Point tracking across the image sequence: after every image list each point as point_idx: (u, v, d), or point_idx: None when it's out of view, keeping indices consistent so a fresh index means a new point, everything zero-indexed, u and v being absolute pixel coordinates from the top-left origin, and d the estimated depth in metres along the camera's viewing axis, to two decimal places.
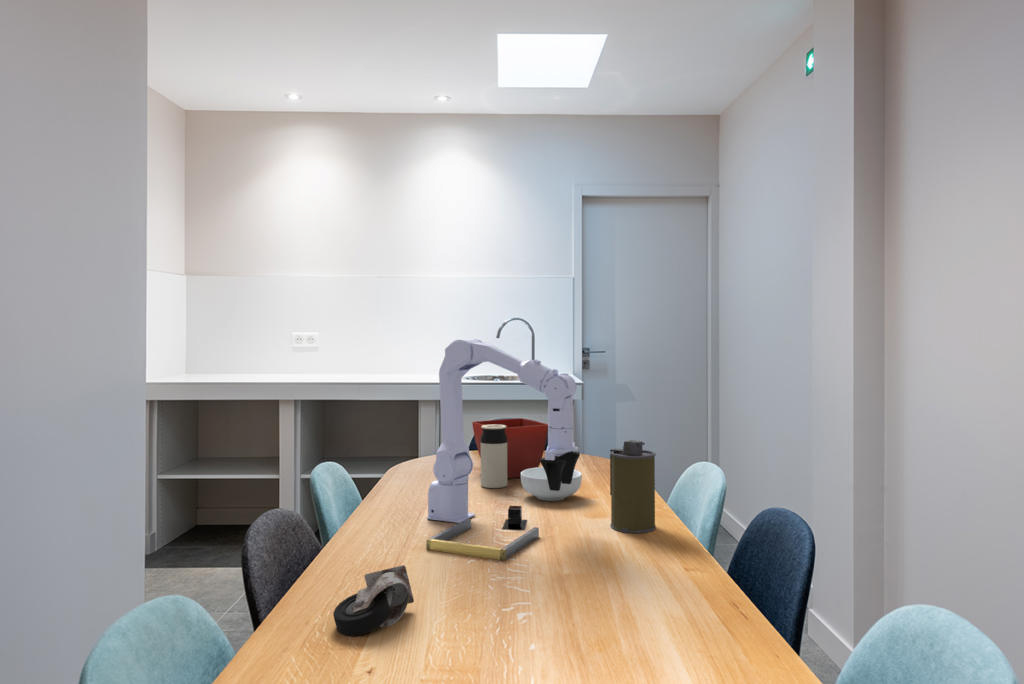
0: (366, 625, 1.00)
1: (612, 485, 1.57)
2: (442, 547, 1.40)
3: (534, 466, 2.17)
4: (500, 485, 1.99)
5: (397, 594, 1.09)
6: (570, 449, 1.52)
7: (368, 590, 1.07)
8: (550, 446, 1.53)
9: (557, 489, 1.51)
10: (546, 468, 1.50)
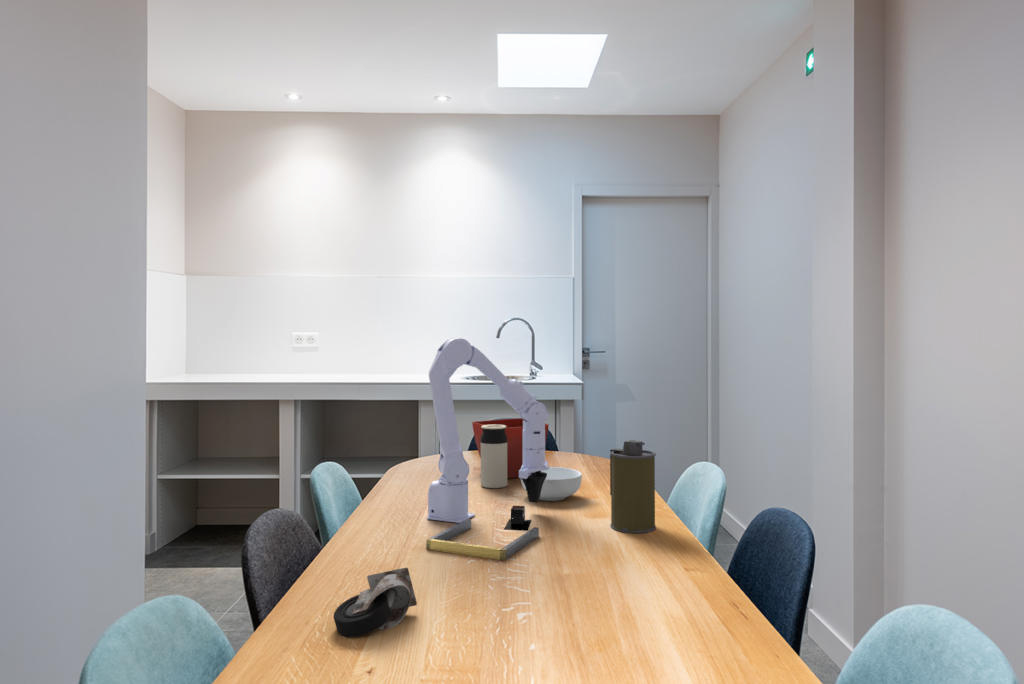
0: (364, 628, 0.99)
1: (612, 485, 1.57)
2: (442, 547, 1.40)
3: None
4: (500, 485, 1.99)
5: (400, 596, 1.08)
6: (542, 468, 1.69)
7: (370, 591, 1.06)
8: (524, 465, 1.70)
9: (535, 501, 1.70)
10: (526, 483, 1.70)
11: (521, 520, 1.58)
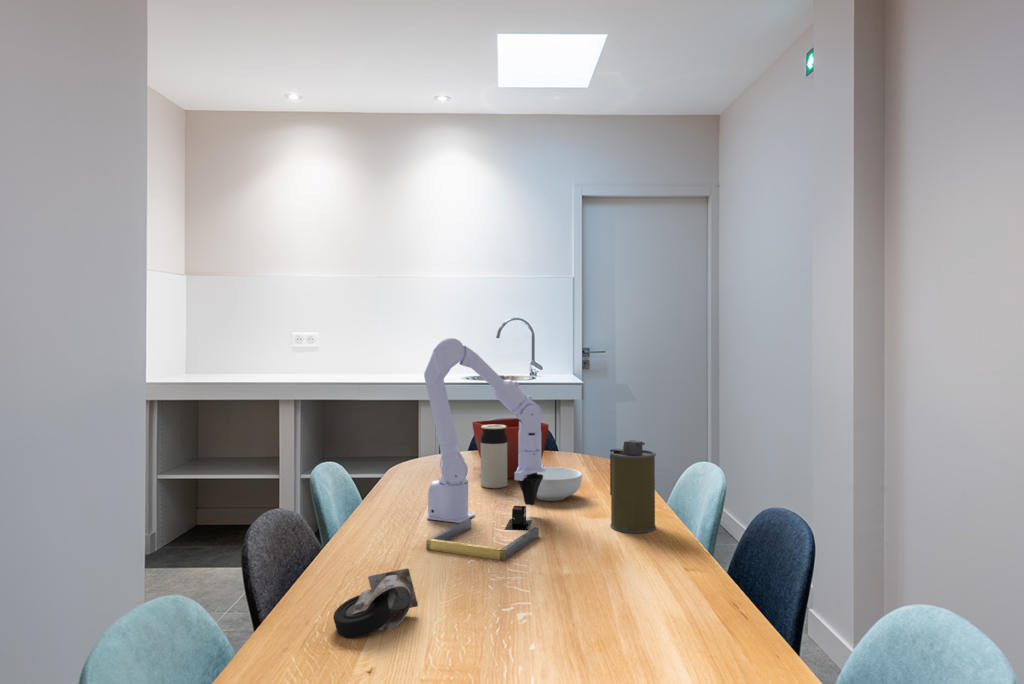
0: (363, 628, 0.99)
1: (612, 485, 1.57)
2: (442, 547, 1.40)
3: None
4: (500, 485, 1.99)
5: (400, 597, 1.07)
6: (538, 470, 1.67)
7: (371, 592, 1.06)
8: (520, 467, 1.68)
9: (531, 503, 1.68)
10: (522, 485, 1.68)
11: (522, 520, 1.58)
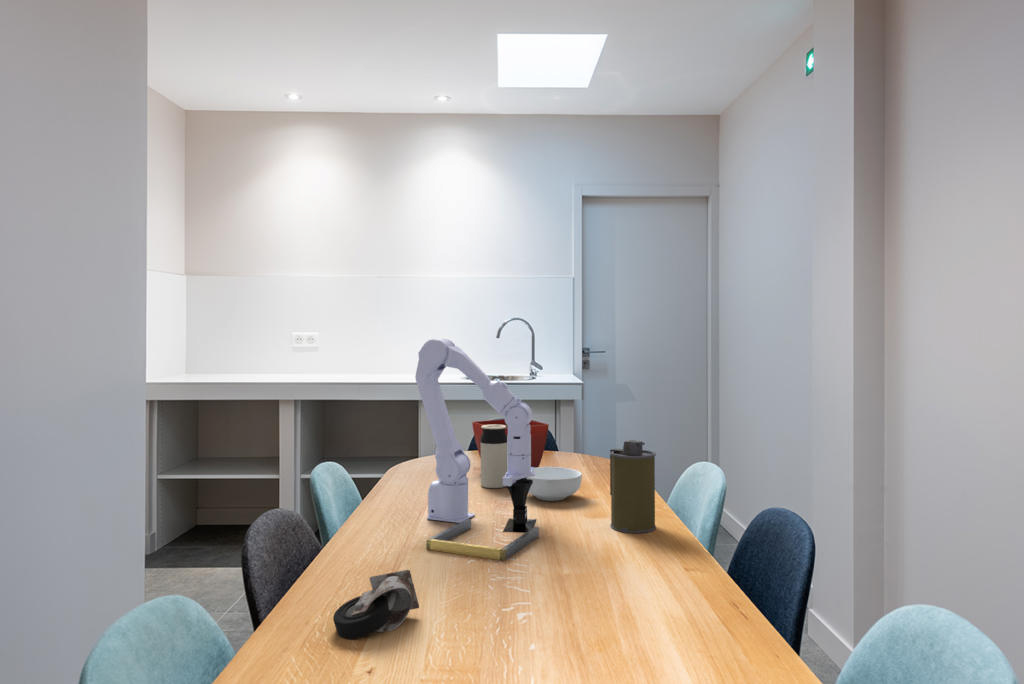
0: (362, 630, 0.98)
1: (612, 485, 1.57)
2: (442, 547, 1.40)
3: (534, 466, 2.17)
4: (500, 485, 1.99)
5: (402, 599, 1.07)
6: (527, 475, 1.61)
7: (371, 593, 1.06)
8: (509, 472, 1.61)
9: None
10: (510, 490, 1.62)
11: (523, 520, 1.57)
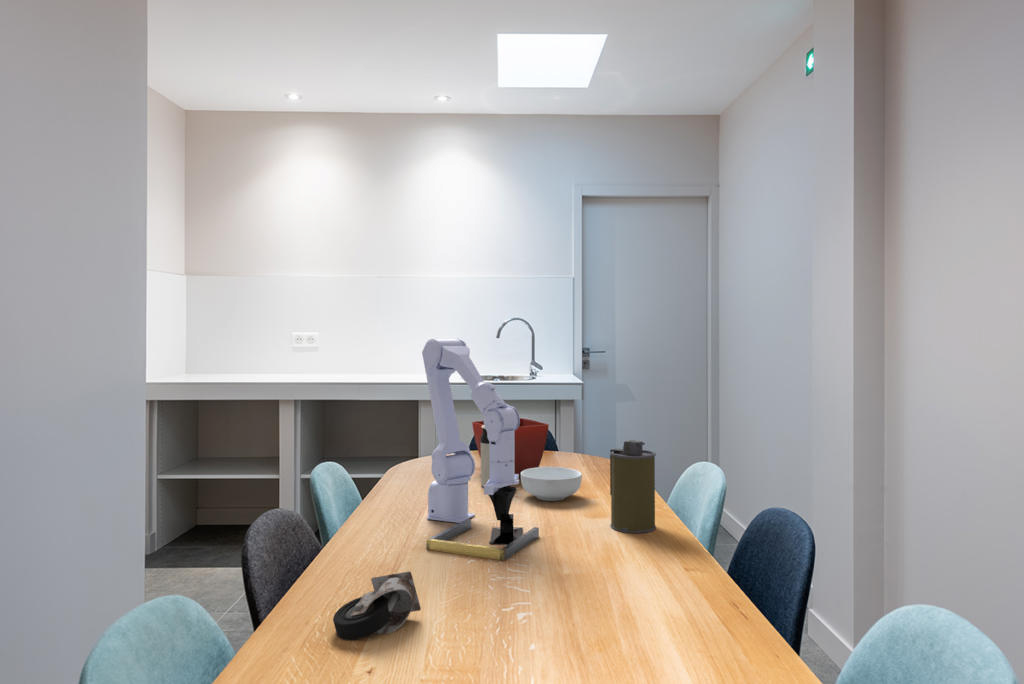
0: (360, 631, 0.98)
1: (612, 485, 1.57)
2: (442, 547, 1.40)
3: (534, 466, 2.17)
4: None
5: (403, 600, 1.06)
6: (511, 483, 1.52)
7: (373, 594, 1.05)
8: (491, 479, 1.53)
9: None
10: (493, 499, 1.53)
11: (511, 529, 1.49)
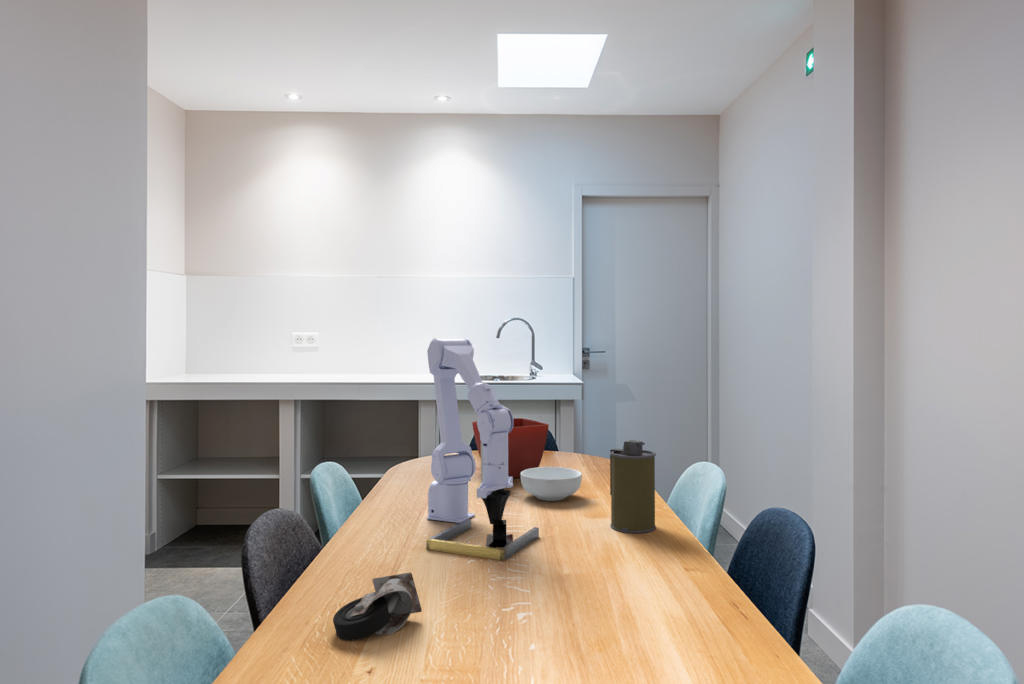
0: (359, 632, 0.98)
1: (612, 485, 1.57)
2: (442, 547, 1.40)
3: (534, 466, 2.17)
4: None
5: (404, 602, 1.06)
6: (504, 486, 1.49)
7: (373, 595, 1.05)
8: (484, 482, 1.50)
9: None
10: (486, 502, 1.50)
11: (504, 536, 1.46)
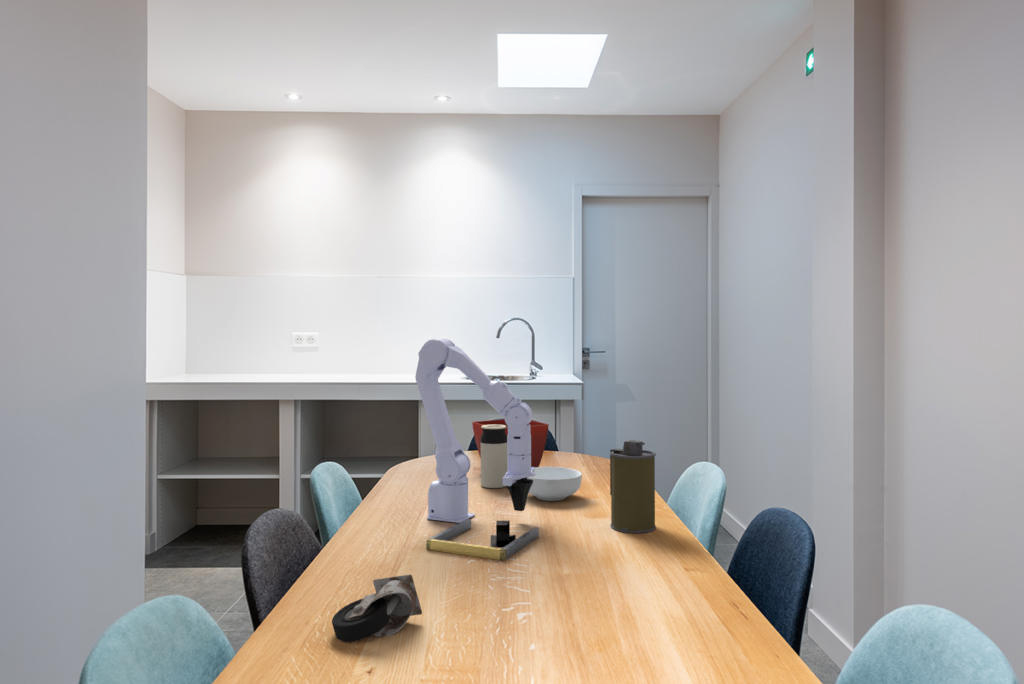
0: (356, 633, 0.97)
1: (612, 485, 1.57)
2: (442, 547, 1.40)
3: (534, 466, 2.17)
4: (500, 485, 1.99)
5: (404, 604, 1.05)
6: (527, 475, 1.61)
7: (373, 596, 1.04)
8: (509, 472, 1.61)
9: (521, 509, 1.62)
10: (510, 490, 1.62)
11: (508, 536, 1.45)
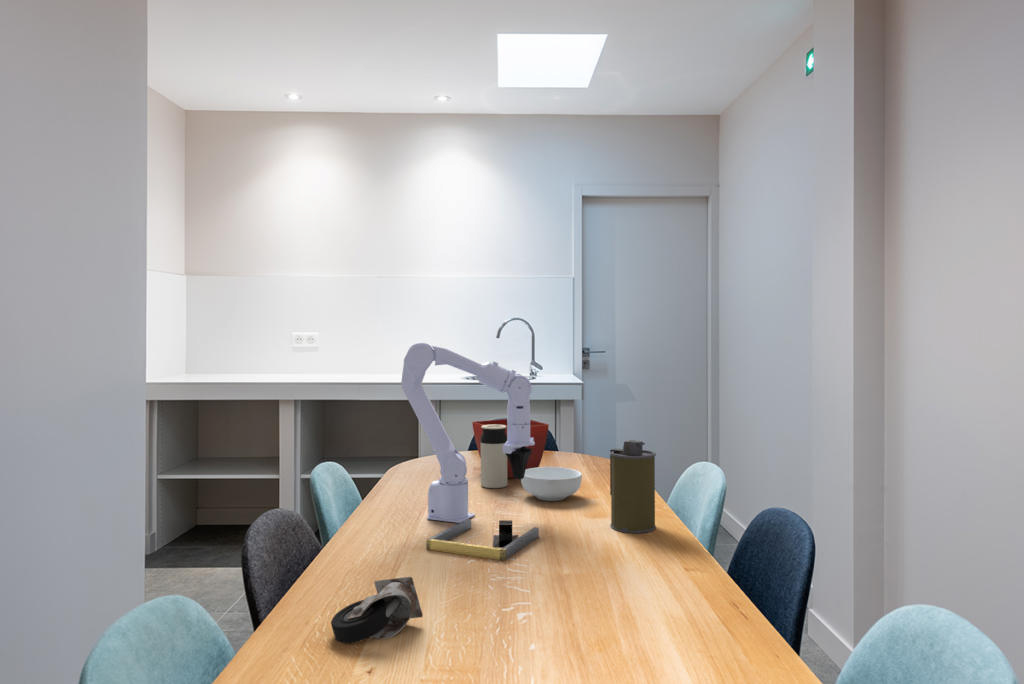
0: (354, 635, 0.97)
1: (612, 485, 1.57)
2: (442, 547, 1.40)
3: (534, 466, 2.17)
4: (500, 485, 1.99)
5: (405, 606, 1.04)
6: (527, 443, 1.65)
7: (374, 598, 1.04)
8: (509, 441, 1.66)
9: (520, 477, 1.67)
10: (510, 458, 1.67)
11: (510, 536, 1.45)
